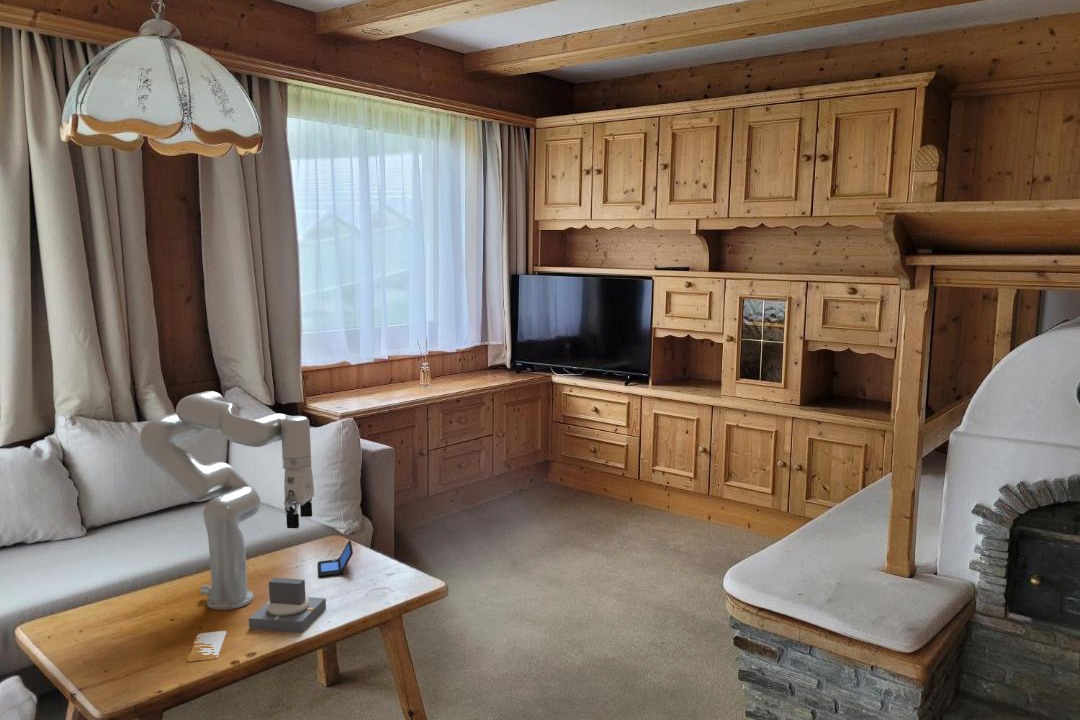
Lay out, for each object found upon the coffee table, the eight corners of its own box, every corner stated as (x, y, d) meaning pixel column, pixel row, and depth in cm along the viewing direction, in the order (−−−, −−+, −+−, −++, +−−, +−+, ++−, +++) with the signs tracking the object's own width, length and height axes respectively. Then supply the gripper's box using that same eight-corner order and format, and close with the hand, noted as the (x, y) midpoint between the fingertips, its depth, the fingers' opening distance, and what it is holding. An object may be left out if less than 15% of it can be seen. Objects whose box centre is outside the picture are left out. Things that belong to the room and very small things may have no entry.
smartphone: (185, 661, 198) (197, 633, 212) (186, 664, 198) (198, 636, 212) (217, 658, 199) (227, 630, 214) (217, 661, 199) (227, 633, 214)
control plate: (249, 628, 215) (248, 617, 215) (276, 605, 230) (275, 594, 230) (301, 632, 213) (301, 621, 212) (326, 608, 227) (325, 597, 227)
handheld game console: (317, 564, 261) (316, 542, 260) (351, 560, 264) (350, 539, 263) (318, 579, 249) (317, 556, 248) (354, 575, 252) (353, 552, 251)
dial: (259, 614, 217) (257, 587, 216) (279, 597, 227) (278, 571, 226) (297, 617, 215) (295, 590, 214) (315, 599, 225) (314, 574, 224)
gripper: (298, 470, 211) (301, 533, 214) (321, 454, 228) (324, 512, 231) (270, 469, 212) (273, 532, 214) (295, 453, 229) (298, 512, 231)
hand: (299, 522), depth 222 cm, fingers open, 9 cm apart
